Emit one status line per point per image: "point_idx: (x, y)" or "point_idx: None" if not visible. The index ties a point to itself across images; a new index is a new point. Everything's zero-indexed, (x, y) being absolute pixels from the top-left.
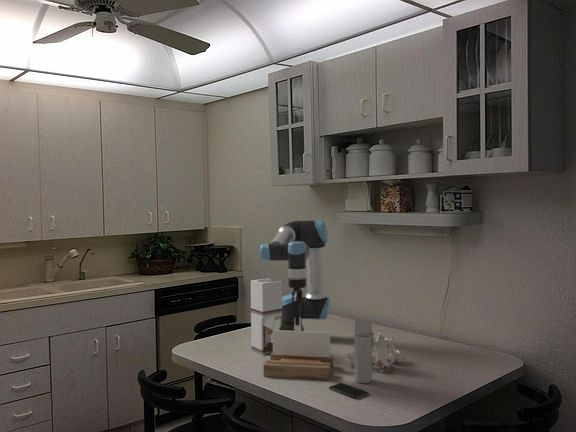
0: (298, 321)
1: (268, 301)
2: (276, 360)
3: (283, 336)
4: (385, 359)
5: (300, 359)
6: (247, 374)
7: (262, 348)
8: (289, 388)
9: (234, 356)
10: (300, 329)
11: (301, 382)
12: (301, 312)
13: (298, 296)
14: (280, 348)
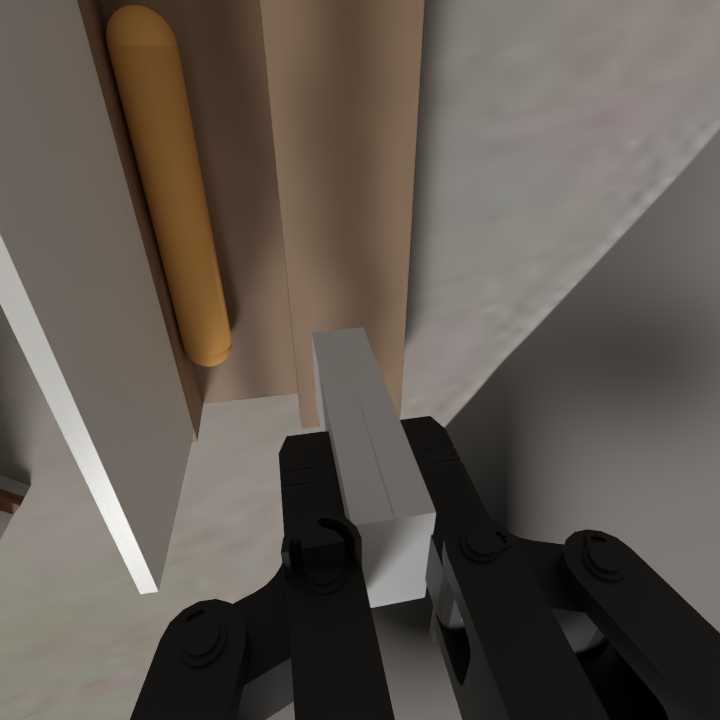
0: (463, 470)
1: None
2: (304, 377)
3: (142, 476)
4: None
5: (174, 230)
6: None
7: (2, 522)
8: (560, 196)
9: None
10: (372, 353)
11: (463, 140)
12: (223, 640)
13: None
14: (172, 419)
